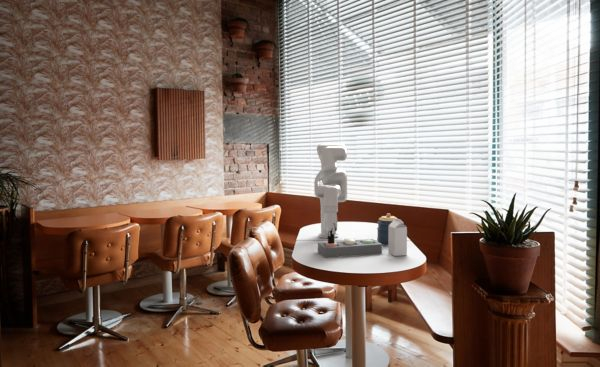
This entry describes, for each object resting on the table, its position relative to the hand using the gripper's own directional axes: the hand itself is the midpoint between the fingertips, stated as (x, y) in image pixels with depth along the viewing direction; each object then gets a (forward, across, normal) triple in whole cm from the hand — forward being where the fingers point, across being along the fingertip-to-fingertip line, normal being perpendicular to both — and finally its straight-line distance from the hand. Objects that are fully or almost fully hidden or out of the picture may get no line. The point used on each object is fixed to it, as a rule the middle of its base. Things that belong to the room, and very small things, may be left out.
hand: (331, 243), depth 225 cm
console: (+6, 0, +11) cm, 12 cm away
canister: (+6, -16, +41) cm, 44 cm away
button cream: (+2, 0, +11) cm, 11 cm away
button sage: (+3, 0, +21) cm, 21 cm away
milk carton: (+6, +10, +34) cm, 36 cm away
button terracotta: (+3, 0, 0) cm, 3 cm away
